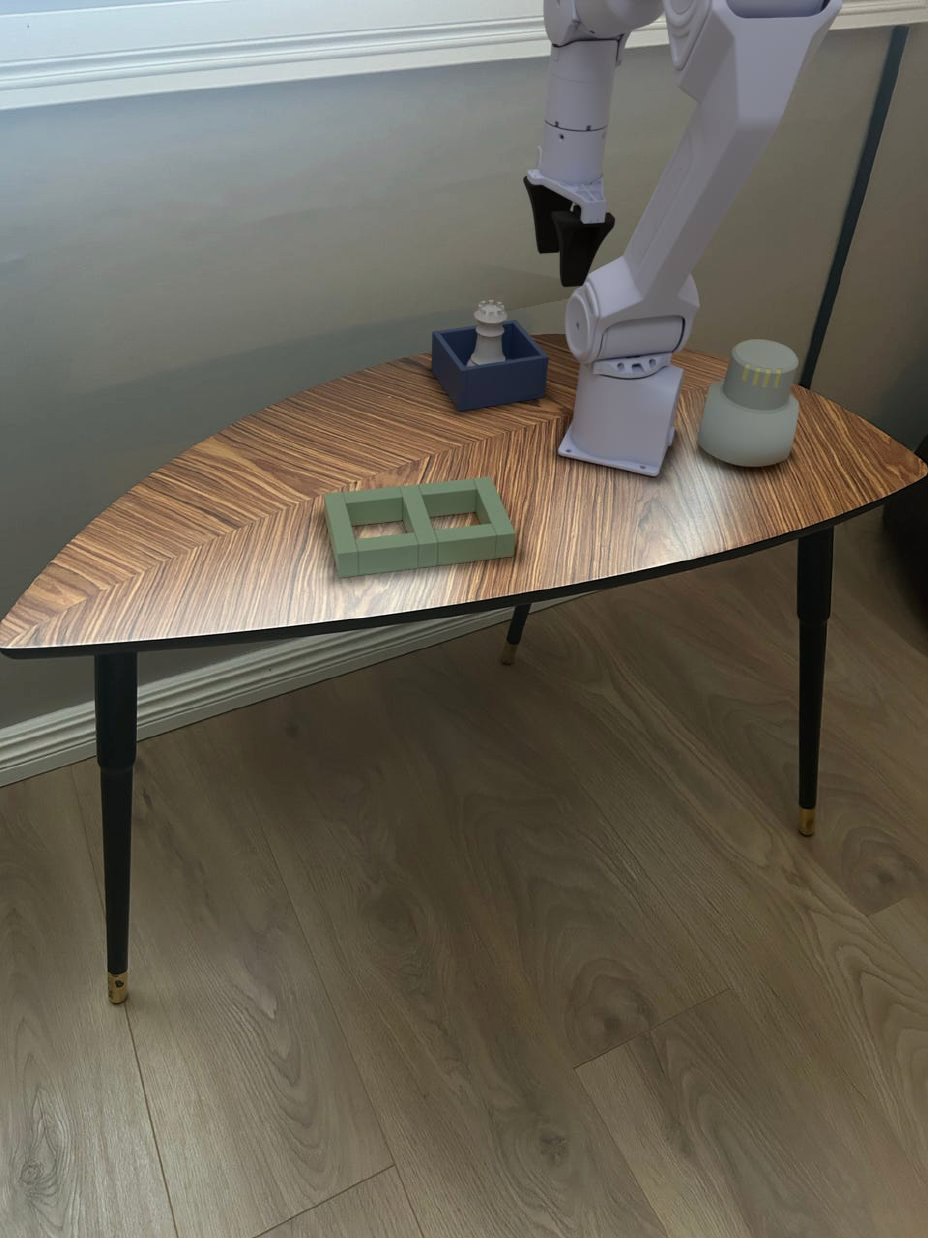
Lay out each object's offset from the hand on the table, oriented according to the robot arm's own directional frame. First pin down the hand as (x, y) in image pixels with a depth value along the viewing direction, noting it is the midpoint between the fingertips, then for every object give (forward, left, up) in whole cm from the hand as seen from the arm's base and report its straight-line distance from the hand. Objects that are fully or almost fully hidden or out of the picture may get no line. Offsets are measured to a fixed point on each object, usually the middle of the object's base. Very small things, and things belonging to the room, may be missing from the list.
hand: (559, 268), depth 99 cm
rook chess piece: (+5, +7, -10) cm, 13 cm away
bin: (+5, +7, -10) cm, 13 cm away
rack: (+2, +33, -10) cm, 34 cm away
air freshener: (-21, +9, -11) cm, 25 cm away
